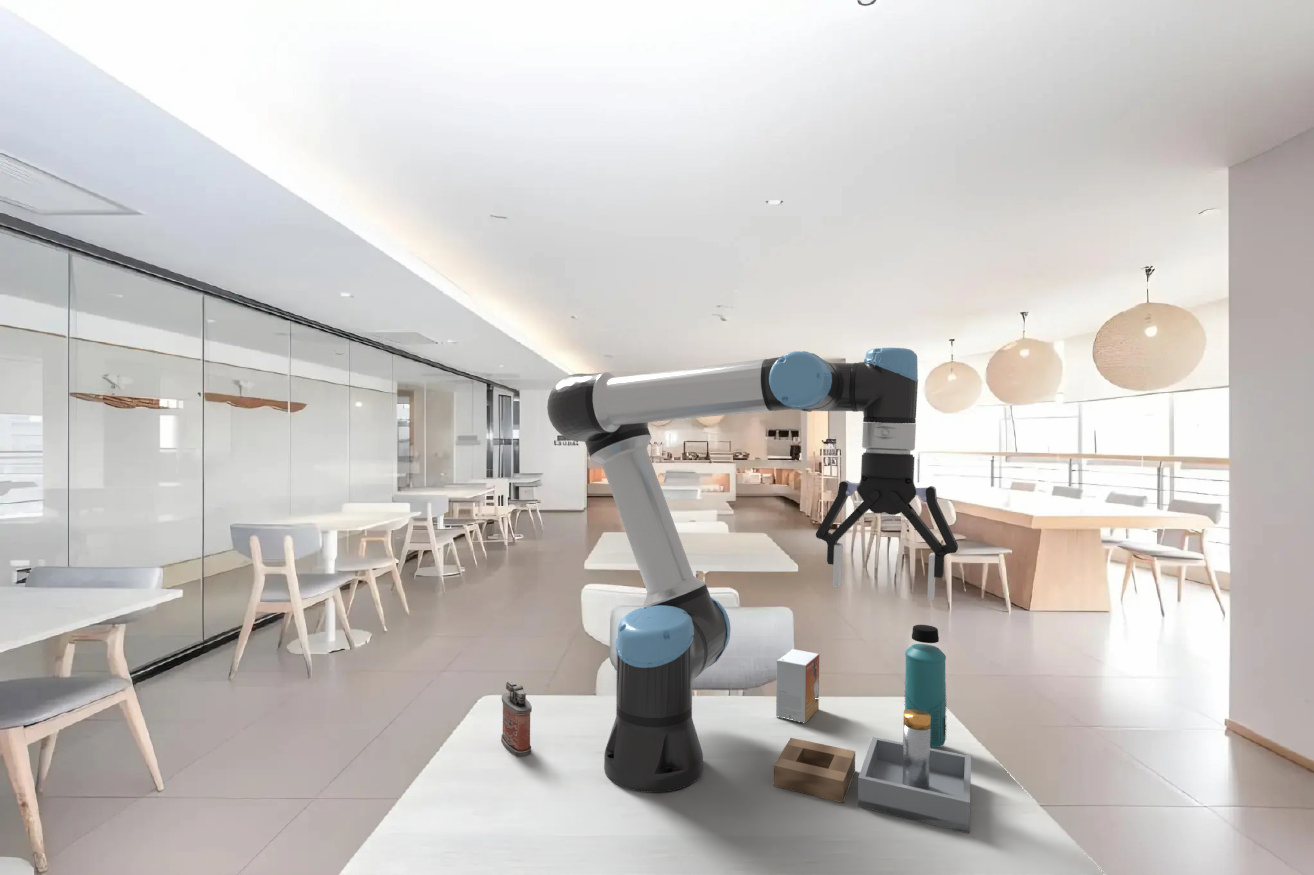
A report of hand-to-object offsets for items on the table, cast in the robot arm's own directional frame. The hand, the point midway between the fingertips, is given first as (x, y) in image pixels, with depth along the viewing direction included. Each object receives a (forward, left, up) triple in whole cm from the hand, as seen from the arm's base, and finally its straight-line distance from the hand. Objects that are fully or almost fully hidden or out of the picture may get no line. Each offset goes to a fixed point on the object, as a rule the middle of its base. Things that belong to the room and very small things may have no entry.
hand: (882, 592), depth 102 cm
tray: (+5, -3, -28) cm, 28 cm away
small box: (-17, +17, -28) cm, 36 cm away
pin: (+5, -3, -27) cm, 27 cm away
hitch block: (-9, -5, -28) cm, 29 cm away
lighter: (-55, -17, -28) cm, 64 cm away
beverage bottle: (+5, +13, -28) cm, 31 cm away
